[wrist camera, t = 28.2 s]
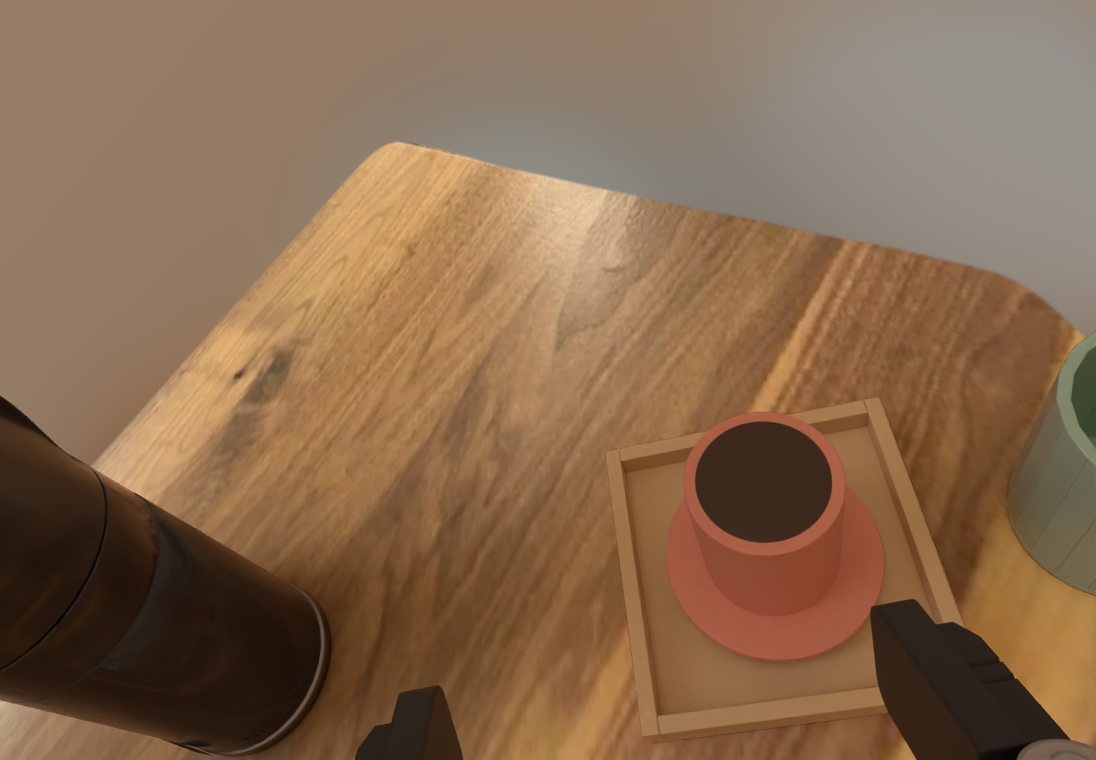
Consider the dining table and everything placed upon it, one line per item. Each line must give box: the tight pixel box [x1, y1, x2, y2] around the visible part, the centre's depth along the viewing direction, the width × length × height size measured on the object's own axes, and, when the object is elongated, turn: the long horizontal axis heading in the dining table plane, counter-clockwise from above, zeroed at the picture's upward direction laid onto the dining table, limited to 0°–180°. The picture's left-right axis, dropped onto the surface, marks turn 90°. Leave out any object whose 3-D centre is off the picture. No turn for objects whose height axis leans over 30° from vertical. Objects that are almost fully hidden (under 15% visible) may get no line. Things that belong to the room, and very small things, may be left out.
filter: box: [666, 412, 885, 663], centre depth 35 cm, size 10×10×10 cm
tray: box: [605, 397, 966, 744], centre depth 39 cm, size 15×15×2 cm
